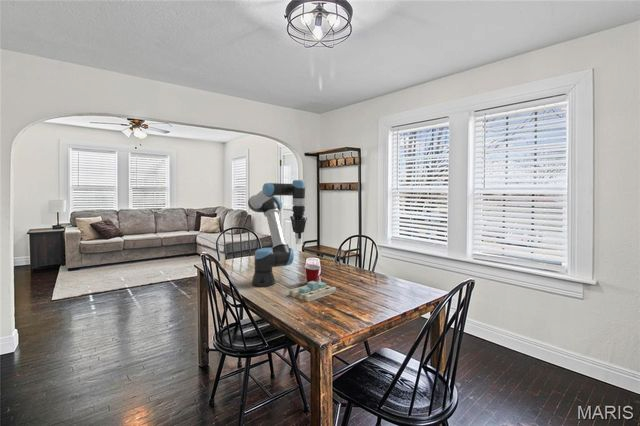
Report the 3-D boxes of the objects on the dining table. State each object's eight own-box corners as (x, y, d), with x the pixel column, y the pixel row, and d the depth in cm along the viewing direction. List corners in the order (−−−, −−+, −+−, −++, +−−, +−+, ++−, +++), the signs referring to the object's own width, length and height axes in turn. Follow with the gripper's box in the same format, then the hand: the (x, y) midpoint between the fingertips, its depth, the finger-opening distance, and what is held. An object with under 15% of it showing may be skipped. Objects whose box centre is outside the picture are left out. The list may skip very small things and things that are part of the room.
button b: (307, 288, 192) (307, 282, 192) (312, 287, 196) (312, 280, 195) (313, 290, 189) (313, 284, 189) (318, 288, 192) (318, 282, 192)
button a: (298, 294, 187) (298, 288, 187) (304, 293, 191) (304, 286, 190) (304, 296, 184) (304, 289, 184) (310, 294, 187) (310, 288, 187)
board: (289, 295, 189) (289, 290, 189) (316, 286, 207) (316, 282, 206) (308, 301, 178) (308, 296, 178) (335, 292, 196) (335, 287, 196)
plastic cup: (314, 287, 206) (314, 268, 205) (300, 284, 212) (301, 266, 212) (323, 283, 215) (323, 265, 214) (310, 280, 221) (310, 263, 220)
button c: (315, 289, 197) (315, 283, 197) (320, 288, 201) (320, 281, 201) (320, 291, 194) (321, 284, 194) (326, 289, 198) (326, 283, 197)
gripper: (286, 205, 197) (286, 243, 198) (301, 206, 188) (301, 245, 189) (295, 205, 202) (295, 241, 204) (310, 205, 193) (310, 244, 195)
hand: (298, 243), depth 197 cm, fingers closed
